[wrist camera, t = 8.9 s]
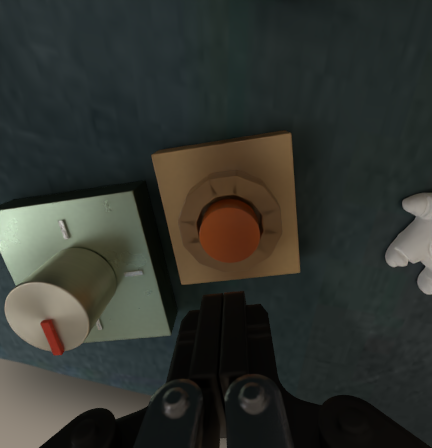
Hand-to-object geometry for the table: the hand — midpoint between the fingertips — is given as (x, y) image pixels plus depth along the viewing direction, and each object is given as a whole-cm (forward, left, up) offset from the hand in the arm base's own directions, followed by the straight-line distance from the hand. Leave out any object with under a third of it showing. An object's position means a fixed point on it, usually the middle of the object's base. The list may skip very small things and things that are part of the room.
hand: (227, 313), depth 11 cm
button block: (0, 0, -12) cm, 13 cm away
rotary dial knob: (-12, -3, -9) cm, 15 cm away
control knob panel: (-12, -3, -12) cm, 17 cm away
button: (0, 0, -9) cm, 9 cm away
